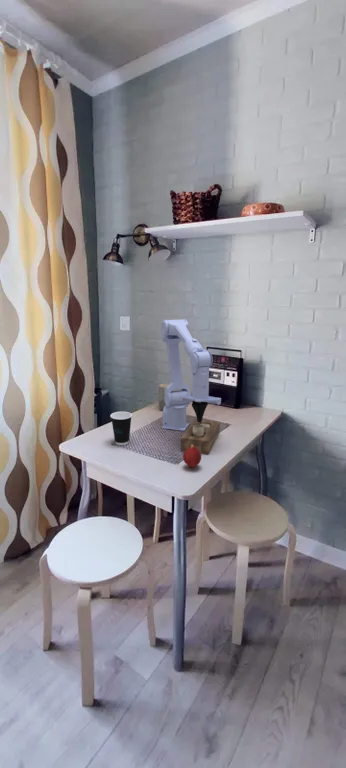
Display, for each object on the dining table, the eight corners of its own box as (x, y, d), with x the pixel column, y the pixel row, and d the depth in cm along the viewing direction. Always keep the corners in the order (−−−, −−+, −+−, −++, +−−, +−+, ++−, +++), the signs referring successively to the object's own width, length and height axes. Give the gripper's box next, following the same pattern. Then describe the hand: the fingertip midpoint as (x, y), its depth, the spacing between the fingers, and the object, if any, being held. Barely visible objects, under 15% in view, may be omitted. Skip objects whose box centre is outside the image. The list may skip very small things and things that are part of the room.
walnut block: (180, 450, 139) (181, 437, 137) (194, 430, 157) (195, 419, 156) (208, 454, 136) (208, 441, 134) (219, 433, 154) (219, 421, 153)
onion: (190, 461, 130) (190, 439, 128) (204, 466, 127) (205, 444, 125) (179, 467, 126) (179, 445, 124) (193, 473, 122) (194, 450, 120)
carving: (155, 410, 182) (155, 385, 179) (164, 405, 188) (164, 382, 185) (166, 412, 178) (166, 387, 175) (175, 408, 184) (175, 384, 181)
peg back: (197, 437, 150) (198, 426, 148) (200, 433, 153) (200, 422, 152) (208, 438, 148) (208, 427, 147) (210, 434, 152) (210, 424, 151)
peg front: (191, 439, 140) (191, 427, 138) (194, 435, 143) (194, 424, 142) (202, 441, 138) (202, 429, 137) (204, 436, 142) (205, 425, 141)
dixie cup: (131, 437, 150) (130, 410, 147) (134, 445, 142) (133, 417, 140) (110, 439, 148) (109, 412, 145) (112, 448, 141) (111, 419, 138)
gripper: (177, 386, 135) (177, 422, 139) (218, 389, 131) (217, 427, 135) (183, 381, 142) (182, 416, 145) (222, 384, 138) (221, 420, 141)
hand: (199, 421), depth 140 cm, fingers closed
